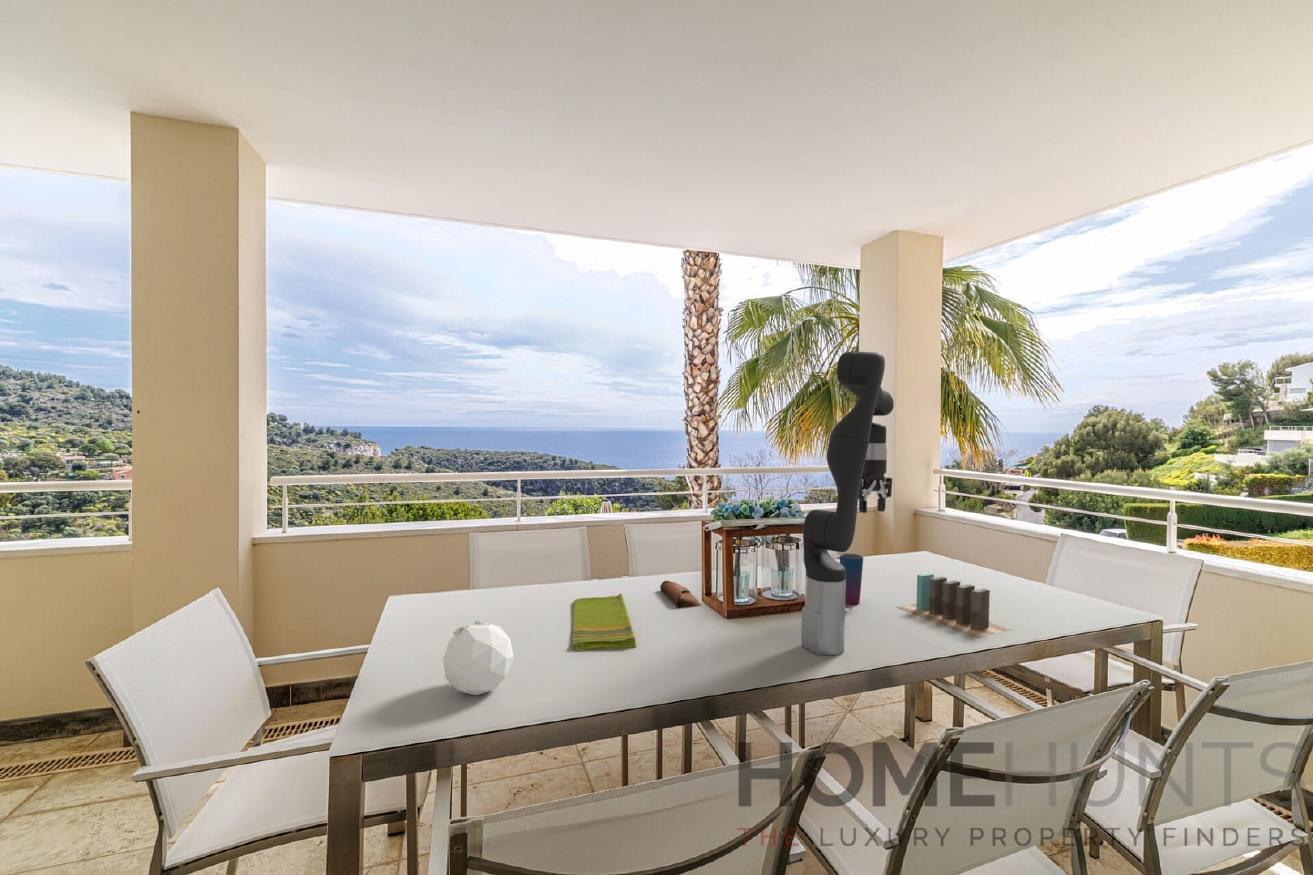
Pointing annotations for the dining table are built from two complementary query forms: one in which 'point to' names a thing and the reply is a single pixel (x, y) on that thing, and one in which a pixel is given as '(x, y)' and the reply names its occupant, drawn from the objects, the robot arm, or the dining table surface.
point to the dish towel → (601, 624)
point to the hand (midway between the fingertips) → (872, 511)
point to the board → (954, 622)
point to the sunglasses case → (679, 595)
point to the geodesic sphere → (478, 658)
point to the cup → (852, 577)
